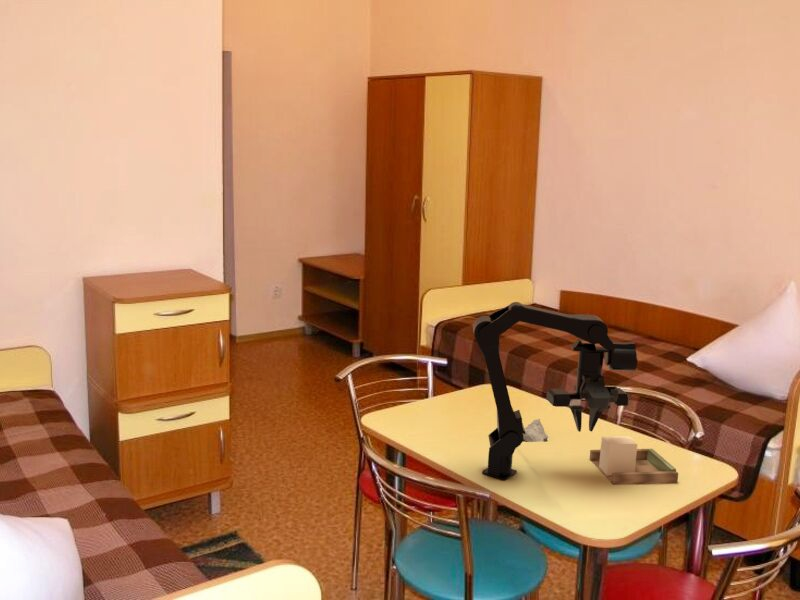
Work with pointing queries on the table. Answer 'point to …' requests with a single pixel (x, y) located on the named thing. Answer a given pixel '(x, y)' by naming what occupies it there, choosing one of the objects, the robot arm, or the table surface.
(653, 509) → the table surface
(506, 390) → the robot arm
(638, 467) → the tray
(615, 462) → the cream block
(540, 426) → the stone
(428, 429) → the table surface
